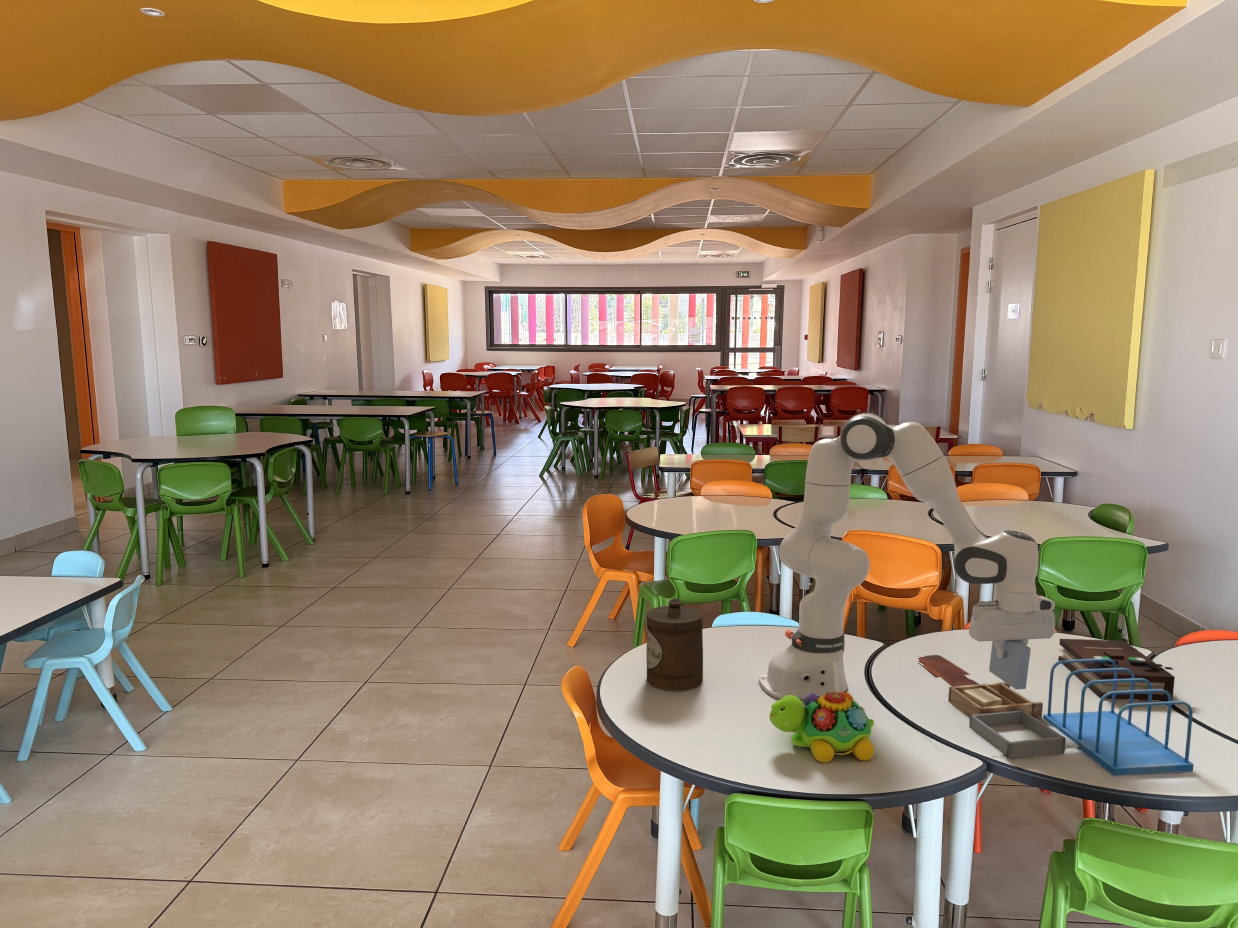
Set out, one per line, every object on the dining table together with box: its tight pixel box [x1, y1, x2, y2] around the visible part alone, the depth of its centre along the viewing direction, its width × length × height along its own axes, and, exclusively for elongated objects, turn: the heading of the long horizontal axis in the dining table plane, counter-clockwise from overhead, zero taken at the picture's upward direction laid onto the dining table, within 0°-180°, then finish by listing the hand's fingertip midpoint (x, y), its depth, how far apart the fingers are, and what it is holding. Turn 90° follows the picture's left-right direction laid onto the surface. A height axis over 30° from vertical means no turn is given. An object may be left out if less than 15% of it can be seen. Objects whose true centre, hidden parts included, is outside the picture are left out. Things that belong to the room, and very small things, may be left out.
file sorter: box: [1042, 659, 1194, 776], centre depth 180 cm, size 25×17×15 cm
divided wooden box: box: [948, 681, 1044, 720], centre depth 197 cm, size 16×13×4 cm
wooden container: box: [646, 597, 704, 692], centre depth 216 cm, size 15×15×22 cm
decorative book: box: [1057, 638, 1176, 702], centre depth 216 cm, size 19×8×30 cm
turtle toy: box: [768, 691, 875, 764], centre depth 181 cm, size 17×23×12 cm
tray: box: [968, 710, 1067, 760], centre depth 183 cm, size 13×14×4 cm
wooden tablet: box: [918, 654, 979, 687], centre depth 221 cm, size 27×10×2 cm, turn 7°
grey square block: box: [988, 640, 1031, 690], centre depth 196 cm, size 3×10×10 cm, turn 10°
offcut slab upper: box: [963, 688, 1002, 707], centre depth 196 cm, size 5×7×2 cm
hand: (1009, 656), depth 196 cm, fingers closed on grey square block, 3 cm apart
